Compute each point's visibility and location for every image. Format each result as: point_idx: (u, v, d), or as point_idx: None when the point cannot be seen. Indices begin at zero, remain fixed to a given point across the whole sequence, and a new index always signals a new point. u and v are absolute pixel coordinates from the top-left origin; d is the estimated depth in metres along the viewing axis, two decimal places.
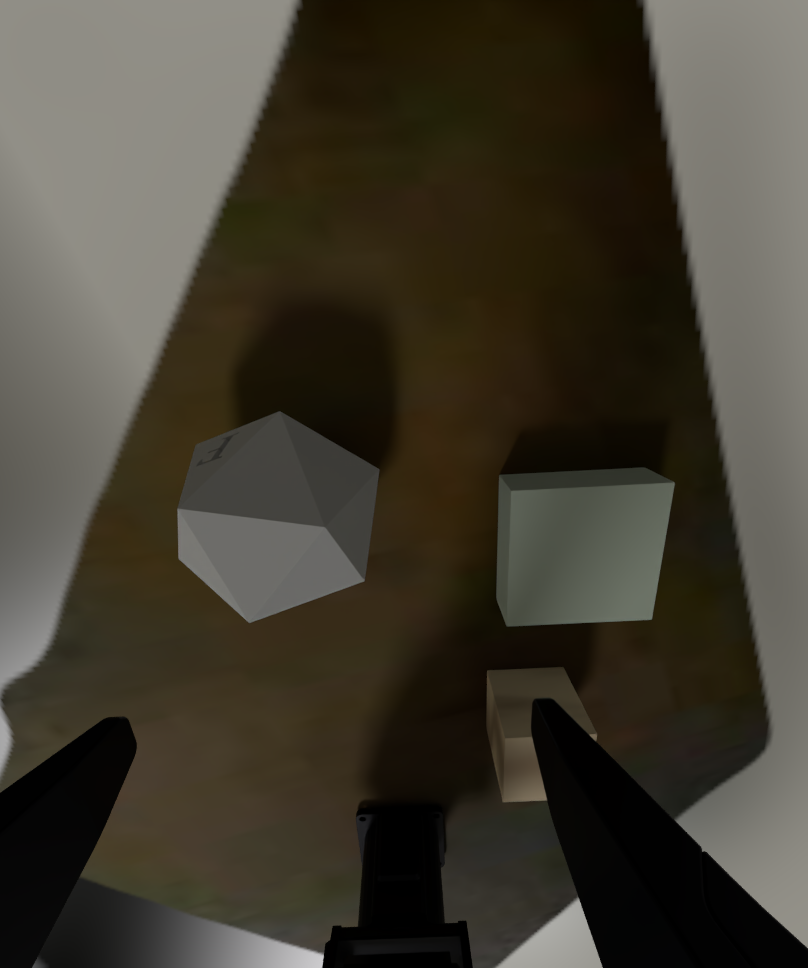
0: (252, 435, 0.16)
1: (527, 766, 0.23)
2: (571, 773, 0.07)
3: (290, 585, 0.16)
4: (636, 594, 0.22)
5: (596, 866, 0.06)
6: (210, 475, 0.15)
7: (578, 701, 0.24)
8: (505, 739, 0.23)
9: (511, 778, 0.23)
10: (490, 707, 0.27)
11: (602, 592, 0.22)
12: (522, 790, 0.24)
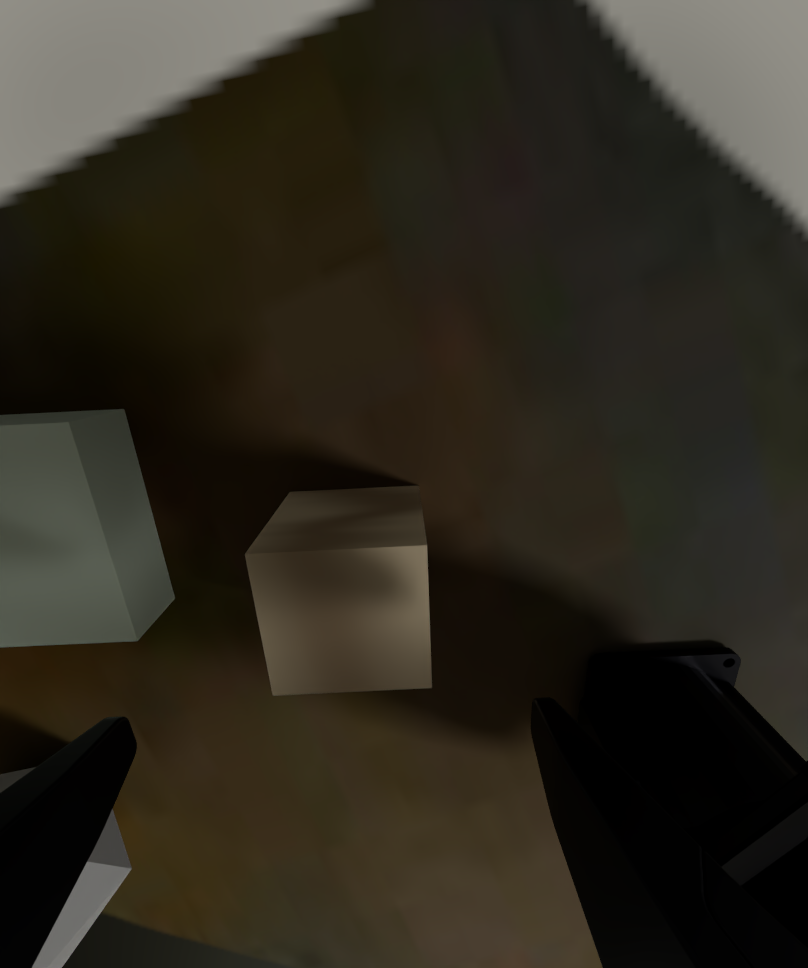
0: None
1: (338, 657, 0.12)
2: (571, 773, 0.07)
3: None
4: (25, 459, 0.13)
5: (596, 866, 0.06)
6: None
7: None
8: (276, 693, 0.13)
9: (370, 679, 0.13)
10: None
11: (38, 514, 0.13)
12: (401, 660, 0.13)
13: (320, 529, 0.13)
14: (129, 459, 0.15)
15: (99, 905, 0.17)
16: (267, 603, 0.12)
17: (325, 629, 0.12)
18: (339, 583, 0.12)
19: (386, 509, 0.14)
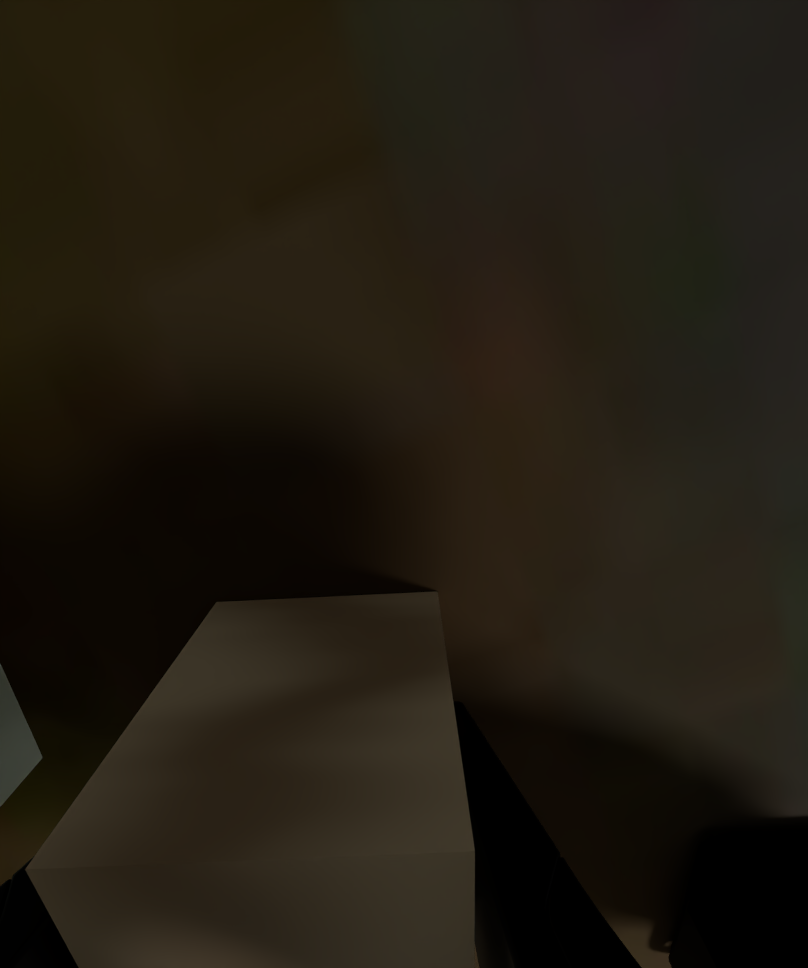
0: None
1: None
2: None
3: None
4: None
5: None
6: None
7: None
8: None
9: None
10: None
11: None
12: None
13: (236, 748, 0.06)
14: None
15: None
16: (99, 950, 0.05)
17: None
18: (263, 918, 0.05)
19: (380, 672, 0.07)
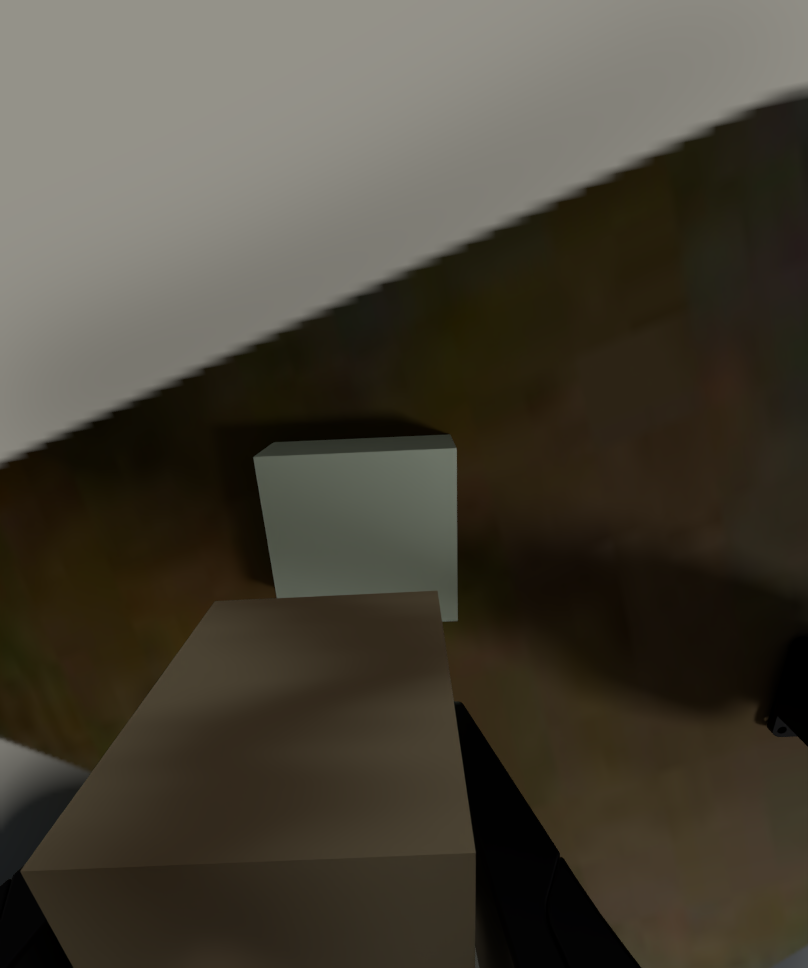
0: None
1: None
2: None
3: None
4: (414, 476, 0.16)
5: None
6: None
7: (140, 712, 0.07)
8: None
9: None
10: None
11: (410, 518, 0.17)
12: None
13: (234, 749, 0.06)
14: None
15: None
16: (94, 953, 0.05)
17: None
18: (261, 920, 0.05)
19: (379, 672, 0.07)
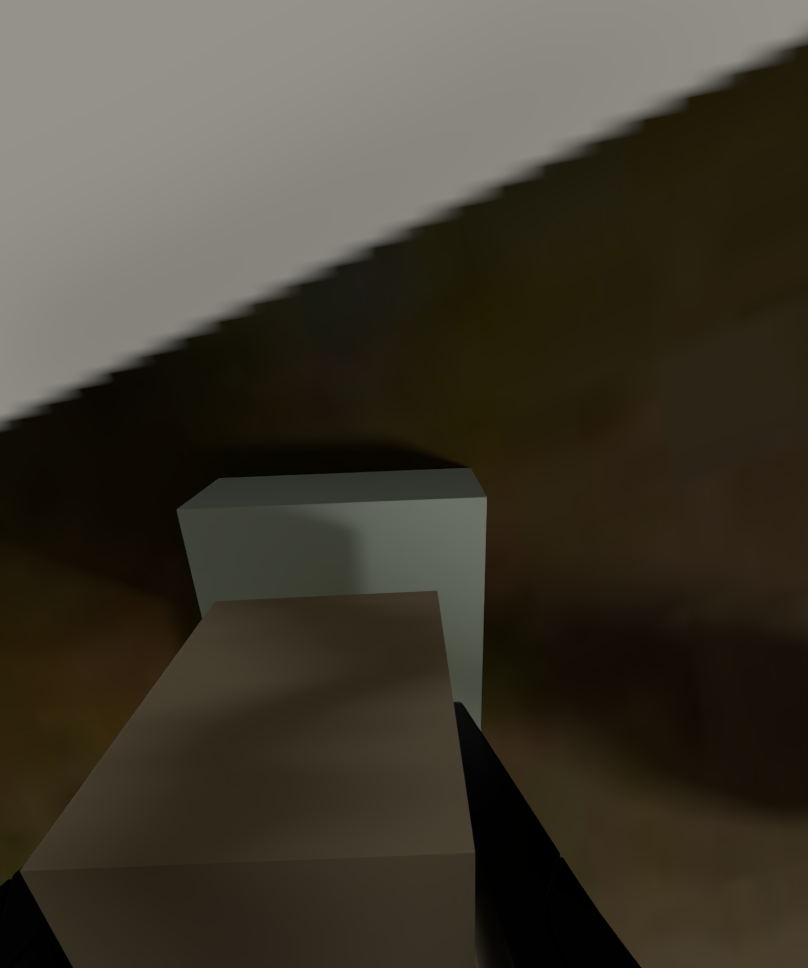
0: None
1: None
2: None
3: None
4: (422, 537, 0.11)
5: None
6: None
7: (140, 712, 0.07)
8: None
9: None
10: None
11: None
12: None
13: (233, 748, 0.06)
14: None
15: None
16: (95, 952, 0.05)
17: None
18: (261, 920, 0.05)
19: (379, 672, 0.07)
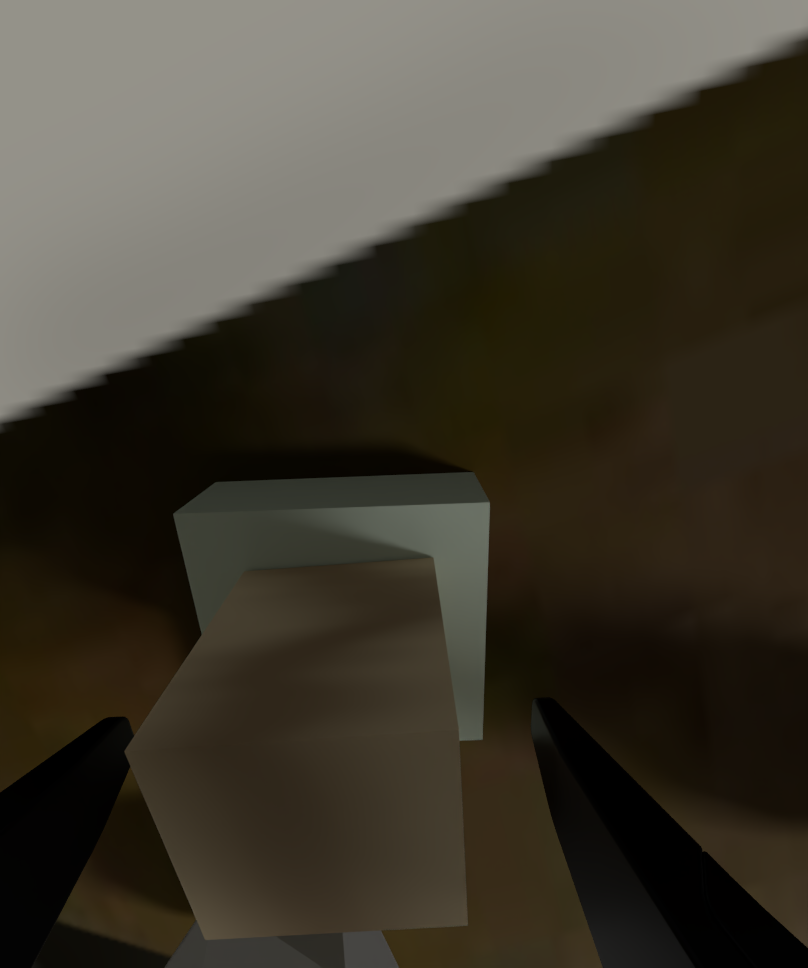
0: None
1: (309, 891, 0.07)
2: (571, 773, 0.07)
3: None
4: (424, 543, 0.11)
5: (596, 866, 0.06)
6: None
7: None
8: (211, 936, 0.08)
9: (364, 916, 0.08)
10: None
11: None
12: (415, 892, 0.07)
13: (272, 673, 0.07)
14: None
15: None
16: (176, 821, 0.07)
17: (282, 854, 0.07)
18: (301, 789, 0.06)
19: (385, 618, 0.09)
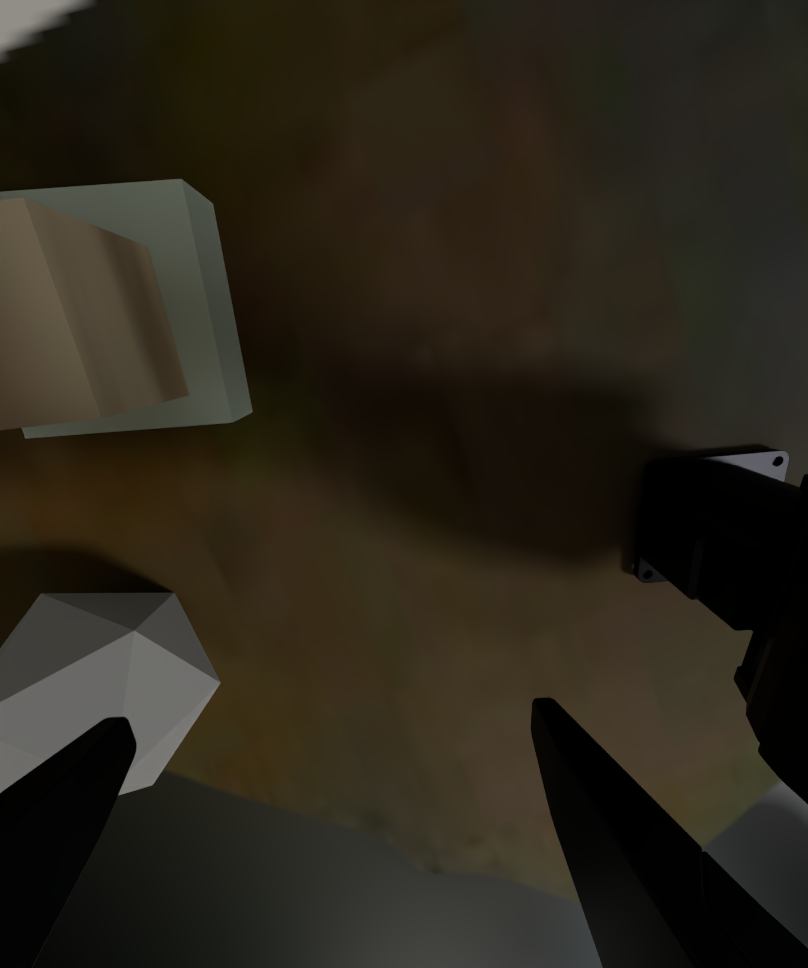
0: None
1: None
2: (571, 773, 0.07)
3: (65, 745, 0.14)
4: (138, 220, 0.14)
5: (596, 866, 0.06)
6: None
7: None
8: None
9: (23, 409, 0.11)
10: None
11: None
12: (51, 379, 0.10)
13: None
14: (219, 253, 0.16)
15: (196, 705, 0.18)
16: None
17: None
18: None
19: None
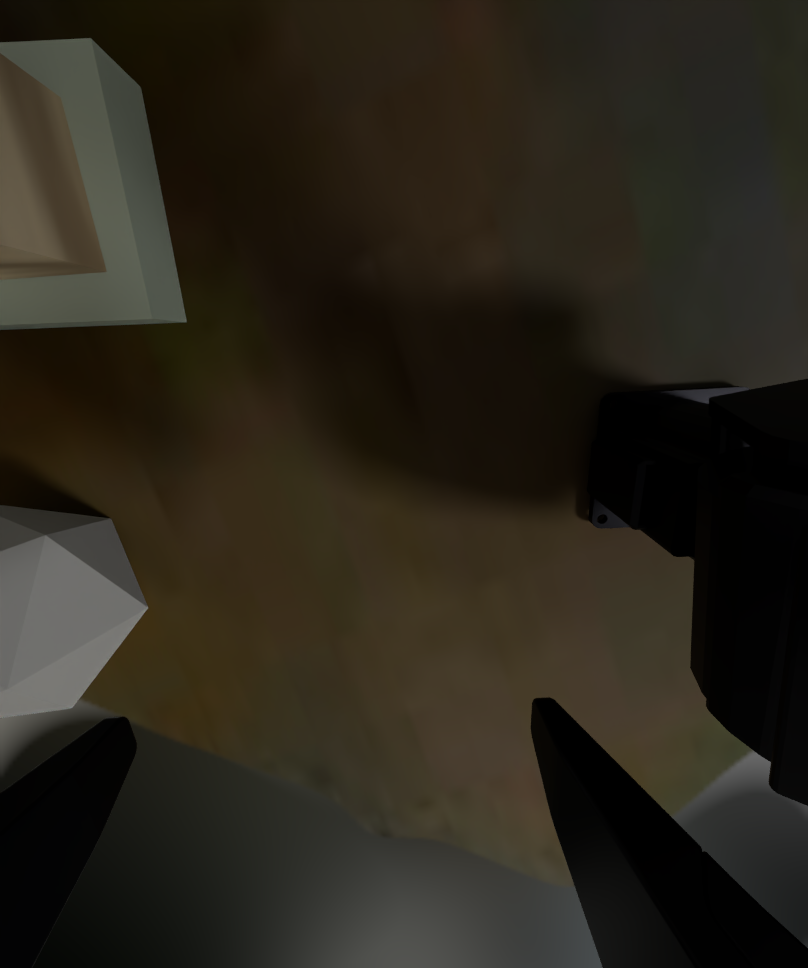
0: None
1: None
2: (571, 773, 0.07)
3: None
4: (47, 85, 0.13)
5: (596, 866, 0.06)
6: None
7: None
8: None
9: None
10: None
11: None
12: None
13: None
14: (146, 141, 0.15)
15: (117, 625, 0.17)
16: None
17: None
18: None
19: None
